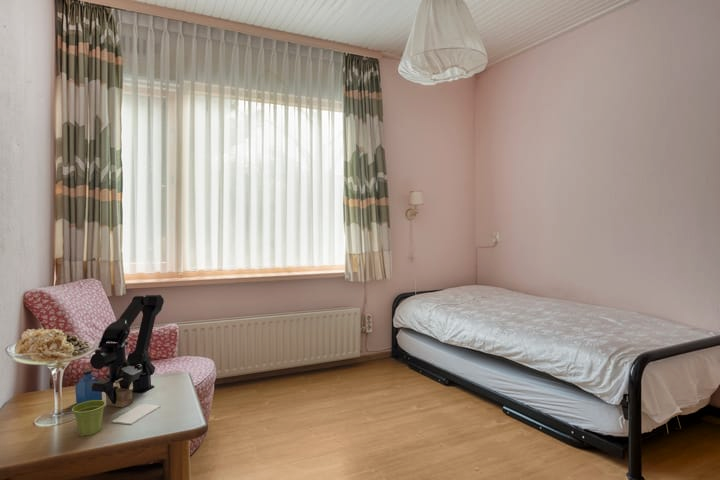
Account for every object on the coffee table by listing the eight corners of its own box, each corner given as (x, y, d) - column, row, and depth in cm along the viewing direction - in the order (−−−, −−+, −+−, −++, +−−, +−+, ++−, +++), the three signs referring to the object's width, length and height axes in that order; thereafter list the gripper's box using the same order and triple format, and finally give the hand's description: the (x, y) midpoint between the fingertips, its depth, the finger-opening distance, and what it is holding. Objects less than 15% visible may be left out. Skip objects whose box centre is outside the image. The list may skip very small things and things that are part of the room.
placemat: (141, 405, 163) (141, 404, 162) (160, 406, 161) (160, 405, 160) (111, 422, 149) (111, 421, 149) (131, 424, 147) (131, 423, 147)
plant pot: (98, 422, 149) (97, 397, 149) (112, 429, 144) (111, 403, 143) (68, 433, 142) (66, 407, 141) (81, 441, 136) (79, 414, 136)
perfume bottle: (76, 403, 166) (74, 372, 165) (92, 396, 172) (90, 366, 171) (85, 405, 163) (84, 374, 163) (102, 399, 169) (100, 369, 168)
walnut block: (116, 399, 167) (116, 387, 167) (132, 402, 165) (132, 389, 164) (106, 404, 163) (105, 391, 163) (122, 407, 160) (121, 394, 160)
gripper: (115, 370, 152) (117, 413, 153) (153, 353, 170) (155, 392, 171) (89, 368, 155) (91, 411, 156) (129, 351, 173) (131, 390, 174)
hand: (119, 401), depth 164 cm, fingers closed on walnut block, 5 cm apart
